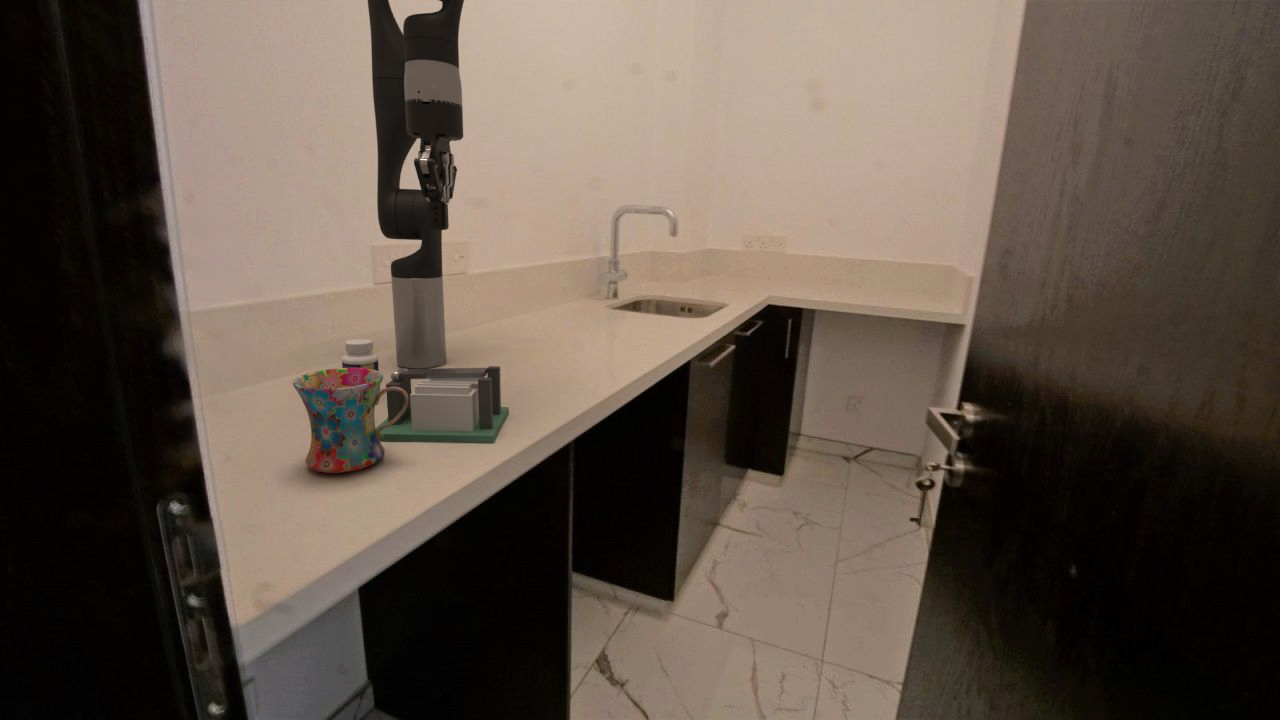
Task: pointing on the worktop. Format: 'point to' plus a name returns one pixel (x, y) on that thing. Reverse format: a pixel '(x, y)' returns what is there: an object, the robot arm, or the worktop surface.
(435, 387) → the heatsink base
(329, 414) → the mug
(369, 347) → the pill bottle
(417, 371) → the strap
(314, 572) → the worktop surface
